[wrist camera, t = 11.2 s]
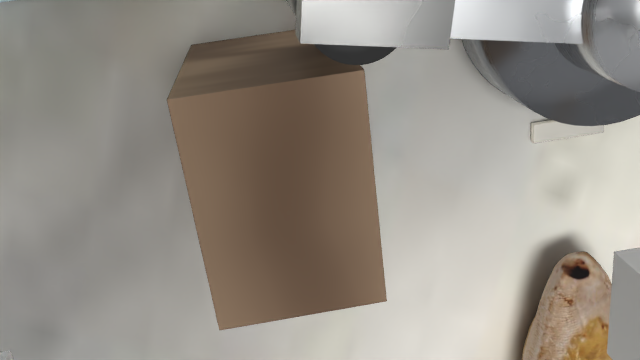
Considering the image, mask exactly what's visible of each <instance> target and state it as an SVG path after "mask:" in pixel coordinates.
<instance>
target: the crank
mask: <svg viewBox="0 0 640 360" xmlns="http://www.w3.org/2000/svg"><path fill="white" fill-rule="evenodd" d="M286 1H287V3H288V5H289V6H290V8H291V9H292V11H293V13H294V14H295V16H296V30H295V34H296V36H297V38H298V40H299V42H300V43H302V44H314V45H315V46H316V48H317V49H318V50H320V51H321V52H322V53H323V54H324V55H326V56H327V57H329V58H330V59H332V60H334V61H337V62H340V63H343V64H348V65H363V64H369V63H372V62H375V61H378V60H380V59H382V58H384V57H385V56H387V55H388V54H390V53H391V52H392V51H394V50H395V49H396V48H397V47H404V48H430V49H449V44H450V39H474V40H499V41H523V42H547V43H554V44H555V45H556V47H557V49H558V50H559V52H560V53H561V54H562V55H563V56H564V57H565V58H566V59H567V60H568V61H569V62H570V63H572V64H573V65H575V66H577V67H578V68H581V69H583V70H585V71H588V72H590V73H593V74H595V75H598V76H600V77H603V78H605V79H608V80H610V81H612V82H615V83H617V84H620V85H622V86H625V87H627V88H630V89H632V90H635V91H637V92H640V0H286Z"/></svg>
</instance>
